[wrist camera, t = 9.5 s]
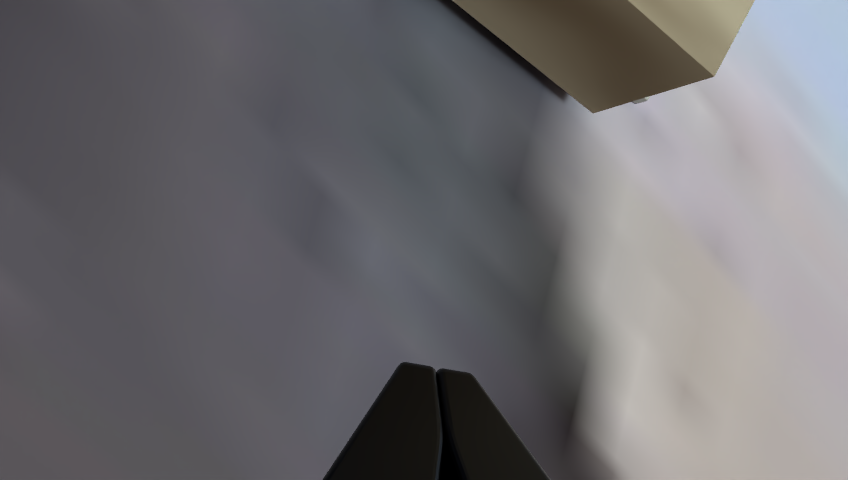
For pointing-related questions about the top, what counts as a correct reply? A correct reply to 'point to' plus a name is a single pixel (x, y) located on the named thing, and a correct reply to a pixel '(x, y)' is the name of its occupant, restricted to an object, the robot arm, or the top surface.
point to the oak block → (615, 42)
